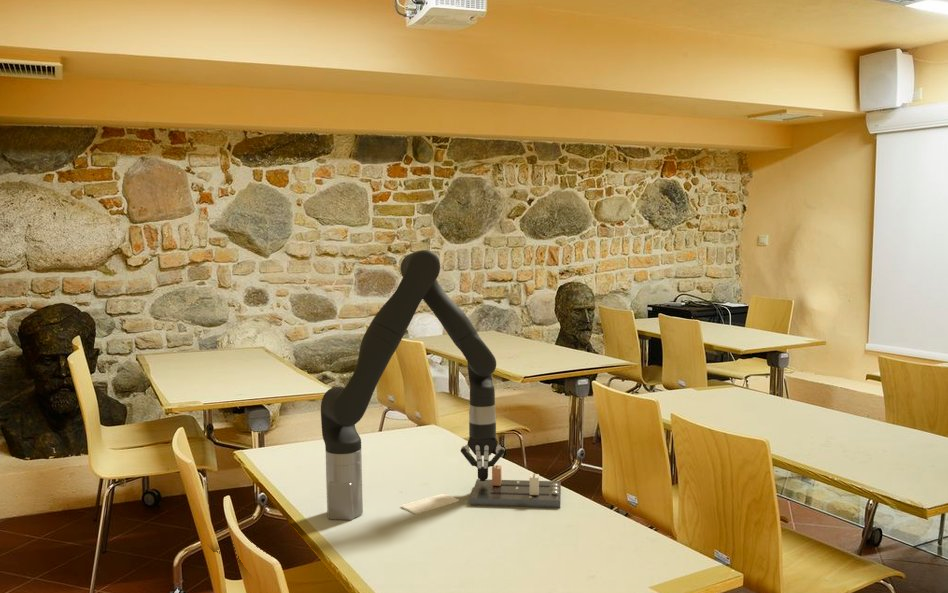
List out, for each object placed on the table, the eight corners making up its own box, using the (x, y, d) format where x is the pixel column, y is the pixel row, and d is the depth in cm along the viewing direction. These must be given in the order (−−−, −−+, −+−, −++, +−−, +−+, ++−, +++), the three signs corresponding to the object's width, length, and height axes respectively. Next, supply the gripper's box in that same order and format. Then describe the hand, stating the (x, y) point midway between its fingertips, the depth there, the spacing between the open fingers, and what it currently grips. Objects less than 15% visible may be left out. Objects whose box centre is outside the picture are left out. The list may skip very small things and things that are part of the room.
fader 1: (500, 485, 225) (500, 468, 225) (492, 485, 225) (492, 468, 225) (501, 482, 228) (501, 464, 228) (493, 482, 228) (492, 464, 228)
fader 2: (538, 495, 217) (538, 477, 216) (529, 494, 217) (529, 476, 217) (538, 491, 220) (538, 473, 219) (530, 491, 220) (529, 473, 220)
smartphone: (460, 500, 220) (415, 512, 210) (460, 502, 220) (415, 515, 210) (443, 493, 225) (399, 505, 216) (443, 496, 225) (399, 508, 216)
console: (560, 507, 213) (560, 497, 213) (470, 505, 216) (470, 495, 216) (560, 488, 229) (560, 478, 229) (476, 486, 232) (476, 476, 232)
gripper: (457, 423, 223) (458, 484, 224) (505, 423, 221) (505, 485, 223) (460, 416, 230) (461, 475, 232) (506, 417, 229) (507, 476, 230)
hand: (483, 480), depth 227 cm, fingers closed
